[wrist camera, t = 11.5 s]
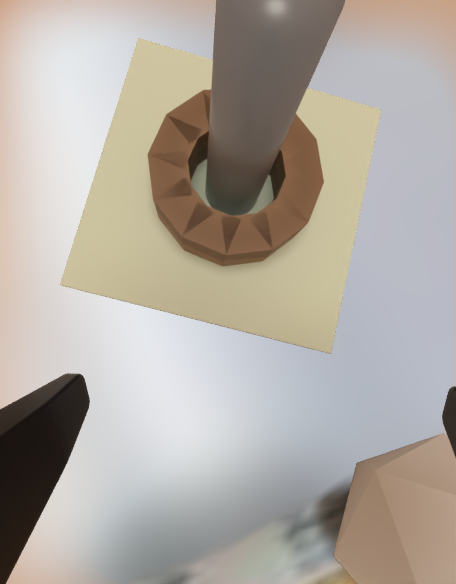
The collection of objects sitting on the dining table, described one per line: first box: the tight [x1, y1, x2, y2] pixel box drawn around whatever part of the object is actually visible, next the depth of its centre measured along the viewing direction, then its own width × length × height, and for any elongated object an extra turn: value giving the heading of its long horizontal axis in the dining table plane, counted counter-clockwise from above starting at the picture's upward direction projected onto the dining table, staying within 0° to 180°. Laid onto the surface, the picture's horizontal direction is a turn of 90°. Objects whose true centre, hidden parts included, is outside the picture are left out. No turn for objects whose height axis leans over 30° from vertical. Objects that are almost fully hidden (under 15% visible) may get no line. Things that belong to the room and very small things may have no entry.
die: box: [333, 433, 456, 584], centre depth 17 cm, size 8×9×10 cm
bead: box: [148, 89, 324, 266], centre depth 20 cm, size 9×9×3 cm
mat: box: [60, 38, 381, 353], centre depth 22 cm, size 16×16×1 cm
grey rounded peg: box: [205, 0, 345, 216], centre depth 15 cm, size 3×3×13 cm
